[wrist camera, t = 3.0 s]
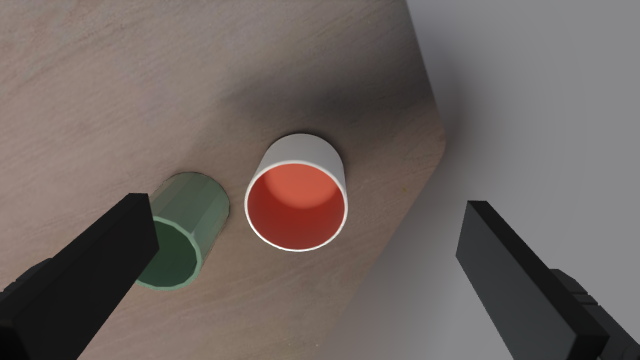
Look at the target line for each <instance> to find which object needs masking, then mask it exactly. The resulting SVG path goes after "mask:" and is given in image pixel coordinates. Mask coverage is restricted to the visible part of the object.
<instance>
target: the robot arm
mask: <svg viewBox="0 0 640 360" xmlns="http://www.w3.org/2000/svg"><path fill="white" fill-rule="evenodd" d="M159 249H160V248H159V243H158V238H157V234H156V229H155V224H154V220H153V215H152V211H151V206H150V201H149V197H148V193H129V194H128V195H126V196H125V197H124V198H123V199H122V200H121V201H119V202H118V203H117V204H116V205H115V206H113V207H112V208H111V209H110V210H109V211H108V212H106V213H105V214H104V215H103V216H102V217H100V218H99V219H98V220H97V221H96V222H94V223H93V224H92V225H91V226H90V227H89V228H87V229H86V230H85V231H84V232H83V233H81V234H80V235H79V236H78V237H77V238H75V239H74V240H73V241H72V242H71V243H70V244H68V245H67V246H66V247H65V248H64V249H62V250H61V251H60V252H59V253H58V254H56V255H55V256H54V257H53V258H48V259H46V260H44V261H42V262H40V263H38V264H36V265H35V266H33V267H31V268H29V269H28V270H27V271H26V272H24V273H23V274H22V275H21V276H20V277H18V278H17V279H16V281H15V282H12V283H11V284H10V285H8V286H7V287H6V288H5V289H4V291H3V292H0V360H77V358H78V357H79V356H80V354H81V353H82V352H83V350H84V349H85V348H86V346H87V345H88V344H89V342H90V341H91V340H92V338H93V337H94V336H95V334H96V333H97V332H98V330H99V329H100V328H101V326H102V325H103V324H104V322H105V321H106V320H107V319H108V317H109V316H110V315H111V313H112V312H113V311H114V309H115V308H116V307H117V305H118V304H119V303H120V301H121V300H122V299H123V297H124V296H125V295H126V293H127V292H128V291H129V289H130V288H131V287H132V285H133V284H134V283H135V281H136V280H137V279H138V277H139V276H140V275H141V273H142V272H143V271H144V269H145V268H146V267H147V265H148V264H149V263H150V261H151V260H152V259H153V257H154V256H155V255H156V253H157V252H158V251H159ZM456 258H457V259H458V261H459V263H460V265H461V266H462V268H463V270H464V272H465V273H466V275H467V277H468V279H469V281H470V282H471V284H472V286H473V288H474V289H475V291H476V293H477V295H478V297H479V298H480V300H481V302H482V303H483V305H484V307H485V309H486V311H487V313H488V314H489V316H490V318H491V320H492V321H493V323H494V325H495V327H496V328H497V330H498V332H499V334H500V336H501V337H502V339H503V341H504V342H505V344H506V346H507V348H508V350H509V352H510V353H511V355H512V357H513V359H514V360H640V345H639V344H638V343H637V342H636V341H635V340H634V339H633V338H632V337H631V336H630V335H629V334H628V333H627V332H626V331H625V330H624V329H623V328H622V327H621V326H620V325H619V324H618V323H617V322H616V321H615V320H614V319H613V318H612V317H611V316H610V315H609V314H608V313H607V312H606V311H605V310H604V309H603V308H602V307H601V306H598V303H597V302H596V301H595V299H594V298H593V297H592V296H591V295H588V292H587V291H586V290H585V289H584V288H583V287H582V286H581V285H580V284H579V283H578V282H577V281H576V280H575V279H573V278H571V277H570V276H568V275H567V274H565V273H564V272H562V271H561V270H559V269H549V268H548V267H547V266H546V265H545V264H544V263H543V262H542V261H541V260H540V259H539V257H538V256H537V255H536V254H535V253H534V252H533V251H532V250H531V249H530V248H529V247H528V246H527V245H526V243H525V242H524V241H523V240H522V239H521V238H520V237H519V236H518V235H517V234H516V233H515V231H514V230H513V229H512V228H511V227H510V226H509V225H508V224H507V223H506V222H505V221H504V219H503V218H502V217H501V216H500V215H499V214H498V213H497V212H496V211H495V210H494V209H493V207H492V206H491V205H490V204H489V203H488V202H487V201H467V206H466V210H465V215H464V220H463V224H462V229H461V233H460V238H459V243H458V247H457V252H456Z"/></svg>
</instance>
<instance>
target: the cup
mask: <svg viewBox="0 0 640 360" xmlns="http://www.w3.org/2000/svg"><path fill="white" fill-rule="evenodd" d="M245 213H246V216H247V219H248V221H249V223H250V225H251V227H252V228H253V230H254V231H255V232H256V234H257V235H258V236H259V237H261V238H262V239H263V240H264V241H266V242H267V243H269V244H271V245H273V246H275V247H277V248H280V249H284V250H288V251H308V250H313V249H316V248H319V247H321V246H323V245H325V244H327V243H328V242H330V241H331V240H332V239H333V238H334V237H336V235H337V234H338V233H339V232H340V231H341V229H342V227H343V225H344V223H345V221H346V218H347V213H348V201H347V193H346V185H345V177H344V169H343V164H342V161H341V159H340V157H339V155H338V153H337V152H336V150H335V149H334V148H333V147H332V146H331V145H330V144H329V143H327V142H326V141H325V140H323V139H321V138H319V137H317V136H313V135H309V134H293V135H289V136H286V137H283V138H281V139H279V140H278V141H276V142H275V143H274V144H272V145H271V146H270V147H269V149H268V150H267V151H266V153H265V155H264V156H263V158H262V160H261V162H260V164H259V166H258V168H257V170H256V172H255V174H254V176H253V178H252V180H251V182H250V184H249V186H248V189H247V191H246V195H245Z"/></svg>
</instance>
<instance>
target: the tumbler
mask: <svg viewBox="0 0 640 360" xmlns="http://www.w3.org/2000/svg"><path fill="white" fill-rule="evenodd" d="M149 201H150V206H151V211H152V215H153V220H154V224H155V229H156V234H157V238H158V243H159V248H160V249H159V251H158V252H157V253H156V255H155V256H154V257H153V259H152V260H151V261H150V263H149V264H148V265H147V267H146V268H145V269H144V271H143V272H142V273H141V275H140V276H139V277H138V279H137V280H136V281H135V283H137V284H138V285H141V286H144V287H147V288H150V289H153V290H168V291H172V290H176V289H179V288H182V287H185V286H187V285H189V284H190V283H191V282H192V281H193V280H194V279H195V278H196V277H197V276H198V275H199V273H200V271H201V269H202V267H203V265H204V263H205V261H206V260H207V258H208V256H209V254H210V252H211V250H212V248H213V246H214V244H215V242H216V240H217V239H218V237H219V235H220V233H221V231H222V229H223V227H224V225H225V223H226V220H227V218H228V216H229V211H230V205H229V200H228V197H227V195H226V193H225V191H224V190H223V188H222V187H221V186H220V185H219V184H218V183H217V182H216V181H214V180H213V179H211V178H210V177H208V176H206V175H203V174H200V173H194V172H185V173H180V174H177V175H174V176H172V177H171V178H169V179H168V180H167V181H166V182H165V183H163V184H162V185H161V186H160V187H159V188H158V189H157V190H156V191H155V192H154V193H153V194H152V195H151V196H150V197H149Z"/></svg>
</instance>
